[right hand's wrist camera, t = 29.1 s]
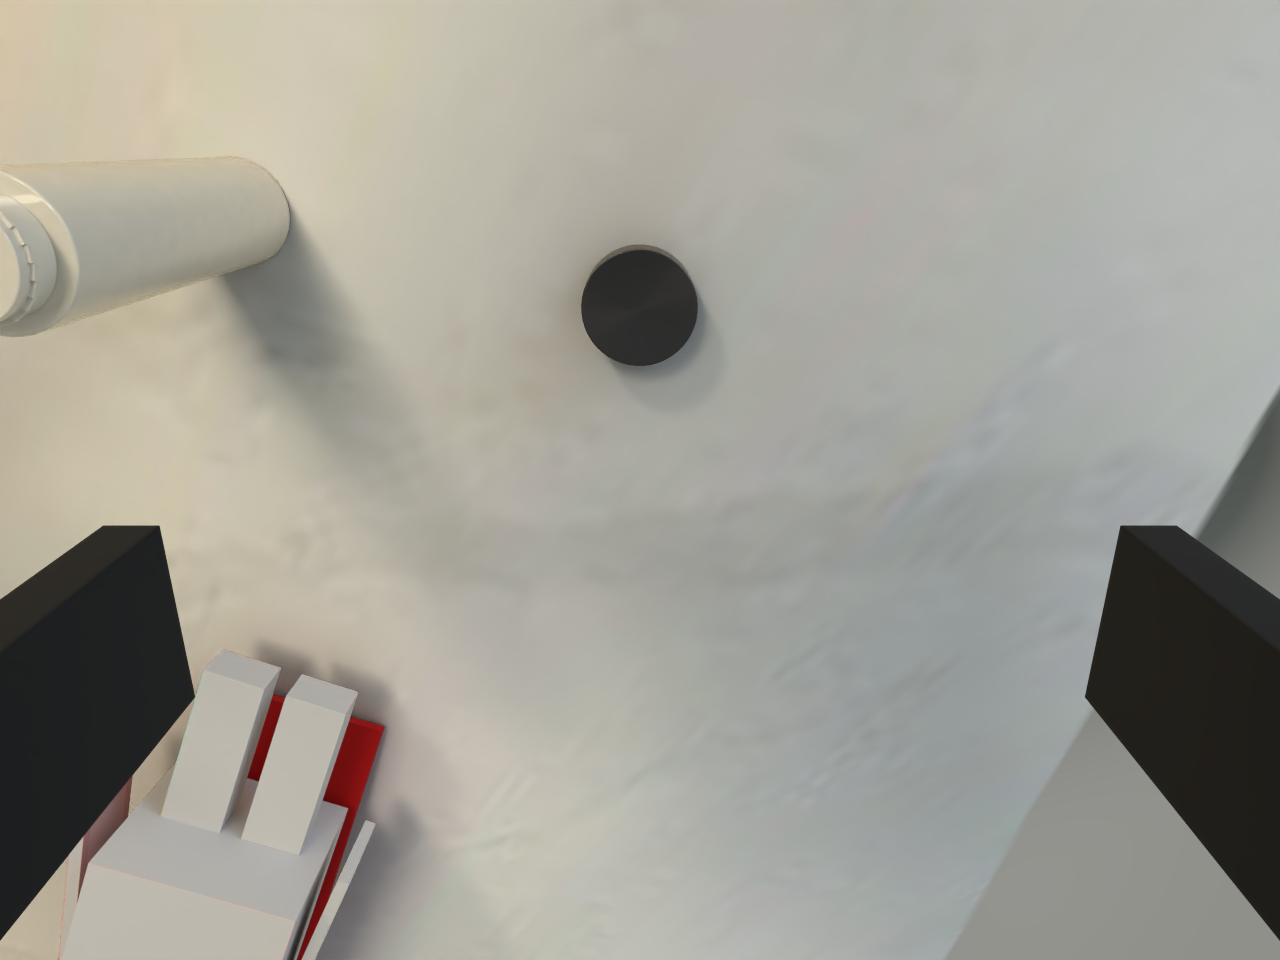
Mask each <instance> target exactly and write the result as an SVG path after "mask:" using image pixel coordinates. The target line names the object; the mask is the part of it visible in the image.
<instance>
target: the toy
mask: <svg viewBox="0 0 1280 960" xmlns="http://www.w3.org/2000/svg"><path fill="white" fill-rule="evenodd" d="M280 671H281V667H278V666H274V665H271V664H268V663H265V662H262V661H258V660H255V659H252V658H249V657H246V656H243V655H239V654H236V653H233V652H230V651H227V650H222V652H221V653H220V654H219V655H218V656H217V657H216V658H215V659H214V660H213V661H212V662H211V663H210V664H209V665H208V666H207V667H206V668H205V669H204V670H203V672H202V676H201V679H200V682H199V686H198V689H197V693H196V696H195V700H194V703H193V706H192V710H191V713H190V717H189V720H188V723H187V727H186V730H185V734H184V737H183V740H182V744H181V747H180V751H179V754H178V757H177V761H176V762H175V763H174V764H173V765H172V767H171V768H170V769H169V770H168V771H167V772H166V774H165V775H164V776H163V777H162V778H161V779H160V781H159V782H158V783H157V784H156V785H155V786H154V787H153V789H152V790H151V791H150V792H149V793H148V794H147V796H146V797H145V798H144V799H143V800H142V801H141V803H140V804H139V805H138V806H137V807H136V808H135V809H134V811H133V812H132V813H131V814H130V815H129V816H128V811H129V802H130V793H131V784H132V776H133V775H132V776H131V778H130V779H129V780H128V781H127V783H126V784H125V785H124V786H123V788H122V789H121V790H120V791H119V793H118V794H117V795H116V796H115V798H114V799H113V800H112V801H111V803H110V804H109V805H108V806H107V808H106V809H105V810H104V811H103V813H102V814H101V815H100V816H99V818H98V819H97V820H96V821H95V823H94V824H93V825H92V826H91V828H90V829H89V830H88V831H87V833H86V834H85V835H84V836H83V838H82V839H81V840H80V841H79V843H78V844H77V845H76V846H75V848H74V849H73V850H72V851H71V853H70V854H69V856H68V866H67V877H66V888H65V898H64V909H63V919H62V930H61V941H60V951H59V960H315V958H316V956H317V954H318V952H319V950H320V948H321V945H322V943H323V941H324V939H325V937H326V934H327V932H328V930H329V928H330V926H331V924H332V921H333V919H334V917H335V915H336V913H337V910H338V908H339V906H340V904H341V902H342V900H343V897H344V895H345V893H346V891H347V889H348V887H349V884H350V882H351V880H352V878H353V875H354V873H355V871H356V868H357V866H358V864H359V862H360V859H361V857H362V855H363V853H364V850H365V848H366V846H367V843H368V841H369V839H370V837H371V834H372V832H373V830H374V828H375V825H376V824H375V823H373V822H370V821H368V820H365V822H364V824H363V827H362V829H361V831H360V833H359V835H358V837H357V840H356V842H355V844H354V846H353V848H352V850H351V853H350V855H349V857H348V859H347V861H346V863H345V866H344V868H343V870H342V872H341V874H340V876H339V879H338V881H337V883H336V885H335V887H334V890H333V892H332V894H331V891H332V887H333V884H334V881H335V878H336V875H337V872H338V869H339V866H340V863H341V860H342V857H343V853H344V850H345V847H346V844H347V841H348V838H349V835H350V832H351V829H352V826H353V823H354V819H355V816H356V813H357V810H358V807H359V804H360V801H361V798H362V795H363V792H364V789H365V785H366V782H367V779H368V776H369V773H370V770H371V767H372V764H373V761H374V758H375V755H376V751H377V748H378V745H379V742H380V739H381V736H382V733H383V730H384V727H385V726H381V725H378V724H374V723H371V722H367V721H364V720H360V719H357V718H353V717H351V714H352V711H353V708H354V705H355V702H356V699H357V696H358V693H359V692H357V691H354V690H351V689H348V688H344V687H341V686H338V685H335V684H332V683H328V682H325V681H322V680H319V679H316V678H313V677H309V676H306V675H303V674H302V675H301V676H300V678H299V679H298V680H297V682H296V683H295V684H294V686H293V687H292V688H291V690H290V691H289V693H288V694H287V695H286V698H284V697H280V696H277V695H273V693H274V690H275V687H276V683H277V680H278V677H279V674H280ZM330 894H331V896H330ZM329 897H330V898H329ZM328 900H329V901H328Z"/></svg>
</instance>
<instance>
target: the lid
mask: <svg viewBox="0 0 1280 960" xmlns="http://www.w3.org/2000/svg"><path fill="white" fill-rule="evenodd" d="M581 311H582V319H583V323H584V326H585V329H586V331H587V334H588V336H589V337H590V339H591V340H592V342H593V343H594V344H595V346H596V347H597V348H598V349H599V350H600V351H601V352H602V353H604V354H605V355H607V356H608V357H610V358H611V359H613V360H615V361H618V362H620V363H623V364H627V365H634V366H645V365H652V364H655V363H659V362H661V361H664V360H666V359H667V358H669V357H671V356H672V355H674V354H675V353H676V352H678V351H679V350H680V349H681V348H682V347H683V345H684V344H685V343H686V342H687V340H688V339H689V337H690V335H691V333H692V331H693V329H694V326H695V323H696V318H697V297H696V293H695V289H694V286H693V284H692V281H691V278H690V276H689V274H688V273H687V271H686V269H685V268H684V267H683V265H682V264H681V263H680V262H679V261H678V260H677V259H676V258H675V257H673V256H672V255H671V254H669V253H668V252H666V251H664V250H662V249H659V248H657V247H653V246H648V245H631V246H626V247H622V248H619V249H617V250H615V251H613V252H611V253H610V254H608V255H607V256H605V257H604V258H603V259H602V260H601V261H600V262H599V263H598V264H597V265H596V266H595V268H594V269H593V271H592V272H591V274H590V276H589V278H588V281H587V283H586V286H585V289H584V292H583V296H582V304H581Z"/></svg>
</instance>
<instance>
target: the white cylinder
mask: <svg viewBox="0 0 1280 960" xmlns="http://www.w3.org/2000/svg"><path fill="white" fill-rule="evenodd" d="M289 224H290V213H289V207H288V204H287V200H286V198H285V195H284V193H283V191H282V189H281V187H280V186H279V184H278V183H277V182H276V180H275V179H274V178H273V177H272V176H271V175H270V174H269V173H268V172H267V171H266V170H265V169H263V168H262V167H260V166H259V165H257V164H255V163H253V162H251V161H249V160H246V159H243V158H239V157H231V156H229V157H202V158H175V159H149V160H122V161H96V162H69V163H43V164H16V165H0V336H6V337H25V336H31V335H35V334H38V333H42V332H45V331H48V330H51V329H54V328H57V327H60V326H63V325H67V324H70V323H73V322H76V321H79V320H82V319H85V318H88V317H92V316H95V315H98V314H101V313H104V312H107V311H110V310H113V309H117V308H120V307H123V306H126V305H129V304H132V303H135V302H138V301H142V300H145V299H148V298H151V297H154V296H157V295H160V294H163V293H167V292H170V291H173V290H176V289H179V288H182V287H185V286H188V285H192V284H195V283H198V282H201V281H204V280H207V279H210V278H213V277H217V276H220V275H223V274H226V273H229V272H232V271H235V270H238V269H242V268H245V267H248V266H251V265H254V264H257V263H260V262H263V261H265V260H267V259H269V258H270V257H272V256H273V255H274V254H276V253H277V252H278V251H279V249H280V248H281V247H282V245H283V243H284V242H285V240H286V237H287V235H288V230H289Z"/></svg>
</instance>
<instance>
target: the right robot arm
mask: <svg viewBox="0 0 1280 960" xmlns="http://www.w3.org/2000/svg"><path fill="white" fill-rule="evenodd" d="M194 698H195V694H194V690H193V685H192V680H191V675H190V670H189V666H188V661H187V656H186V651H185V646H184V642H183V637H182V632H181V627H180V622H179V617H178V613H177V608H176V603H175V598H174V593H173V589H172V584H171V579H170V574H169V569H168V565H167V560H166V555H165V550H164V545H163V540H162V536H161V531H160V526H102V527H101V528H99V529H98V530H97V531H95V532H94V533H92V534H91V535H90V536H88V537H87V538H85V539H84V540H83V541H81V542H80V543H78V544H77V545H76V546H74V547H73V548H71V549H70V550H69V551H67V552H66V553H64V554H63V555H62V556H60V557H59V558H58V559H56V560H55V561H53V562H52V563H51V564H49V565H48V566H46V567H45V568H44V569H42V570H41V571H39V572H38V573H37V574H35V575H34V576H32V577H31V578H30V579H28V580H27V581H25V582H24V583H23V584H21V585H20V586H18V587H17V588H16V589H14V590H13V591H11V592H10V593H9V594H7V595H6V596H5V597H3V598H2V599H0V940H1V939H2V938H3V936H4V935H5V934H6V933H7V931H8V930H9V929H10V928H11V926H12V925H13V924H14V923H15V921H16V920H17V919H18V918H19V916H20V915H21V914H22V913H23V911H24V910H25V909H26V908H27V906H28V905H29V904H30V903H31V901H32V900H33V899H34V898H35V896H36V895H37V894H38V893H39V891H40V890H41V889H42V888H43V886H44V885H45V884H46V883H47V881H48V880H49V879H50V878H51V876H52V875H53V874H54V873H55V871H56V870H57V869H58V868H59V866H60V865H61V864H62V863H63V861H64V860H65V859H66V858H67V856H68V855H69V854H70V853H71V851H72V850H73V849H74V848H75V846H76V845H77V844H78V843H79V841H80V840H81V839H82V838H83V836H84V835H85V834H86V833H87V831H88V830H89V829H90V828H91V826H92V825H93V824H94V823H95V821H96V820H97V819H98V818H99V816H100V815H101V814H102V813H103V811H104V810H105V809H106V808H107V806H108V805H109V804H110V803H111V801H112V800H113V799H114V798H115V796H116V795H117V794H118V793H119V791H120V790H121V789H122V788H123V786H124V785H125V784H126V783H127V781H128V780H129V779H130V778H131V776H132V775H133V774H134V773H135V771H136V770H137V769H138V768H139V766H140V765H141V764H142V763H143V761H144V760H145V759H146V758H147V756H148V755H149V754H150V753H151V751H152V750H153V749H154V748H155V746H156V745H157V744H158V743H159V741H160V740H161V739H162V738H163V736H164V735H165V734H166V733H167V731H168V730H169V729H170V728H171V726H172V725H173V724H174V723H175V721H176V720H177V719H178V718H179V716H180V715H181V714H182V713H183V711H184V710H185V709H186V708H187V706H188V705H189V704H190V703H191V701H192V700H193V699H194ZM1085 698H1086V699H1087V700H1088V701H1089V703H1090V704H1091V705H1092V706H1093V708H1094V709H1095V710H1096V711H1097V713H1098V714H1099V715H1100V716H1101V718H1102V719H1103V720H1104V721H1105V723H1106V724H1107V725H1108V726H1109V728H1110V729H1111V730H1112V731H1113V733H1114V734H1115V735H1116V736H1117V738H1118V739H1119V740H1120V741H1121V743H1122V744H1123V745H1124V746H1125V748H1126V749H1127V750H1128V751H1129V753H1130V754H1131V755H1132V756H1133V758H1134V759H1135V760H1136V761H1137V763H1138V764H1139V765H1140V766H1141V768H1142V769H1143V770H1144V771H1145V773H1146V774H1147V775H1148V776H1149V778H1150V779H1151V780H1152V781H1153V783H1154V784H1155V785H1156V786H1157V788H1158V789H1159V790H1160V791H1161V793H1162V794H1163V795H1164V796H1165V798H1166V799H1167V800H1168V801H1169V803H1170V804H1171V805H1172V806H1173V808H1174V809H1175V810H1176V811H1177V813H1178V814H1179V815H1180V816H1181V818H1182V819H1183V820H1184V821H1185V823H1186V824H1187V825H1188V826H1189V828H1190V829H1191V830H1192V831H1193V833H1194V834H1195V835H1196V836H1197V838H1198V839H1199V840H1200V841H1201V843H1202V844H1203V845H1204V846H1205V848H1206V849H1207V850H1208V851H1209V853H1210V854H1211V855H1212V856H1213V858H1214V859H1215V860H1216V861H1217V863H1218V864H1219V865H1220V866H1221V868H1222V869H1223V870H1224V871H1225V873H1226V874H1227V875H1228V876H1229V878H1230V879H1231V880H1232V881H1233V883H1234V884H1235V885H1236V886H1237V888H1238V889H1239V890H1240V891H1241V893H1242V894H1243V895H1244V896H1245V898H1246V899H1247V900H1248V901H1249V903H1250V904H1251V905H1252V906H1253V908H1254V909H1255V910H1256V911H1257V913H1258V914H1259V915H1260V916H1261V918H1262V919H1263V920H1264V921H1265V923H1266V924H1267V925H1268V926H1269V928H1270V929H1271V930H1272V931H1273V933H1274V934H1275V935H1276V936H1277V938H1278V939H1279V940H1280V599H1278V598H1277V597H1275V596H1274V595H1273V594H1271V593H1270V592H1269V591H1267V590H1266V589H1264V588H1263V587H1262V586H1260V585H1259V584H1257V583H1256V582H1255V581H1253V580H1252V579H1250V578H1249V577H1248V576H1246V575H1245V574H1243V573H1242V572H1241V571H1239V570H1238V569H1236V568H1235V567H1234V566H1232V565H1231V564H1229V563H1228V562H1227V561H1225V560H1224V559H1222V558H1221V557H1220V556H1218V555H1217V554H1215V553H1214V552H1213V551H1211V550H1210V549H1208V548H1207V547H1206V546H1204V545H1203V544H1202V543H1200V542H1199V541H1197V540H1196V539H1195V538H1193V537H1192V536H1190V535H1189V534H1188V533H1186V532H1185V531H1183V530H1182V529H1181V528H1179V527H1178V526H1120V531H1119V536H1118V540H1117V545H1116V550H1115V555H1114V560H1113V564H1112V569H1111V574H1110V579H1109V584H1108V589H1107V593H1106V598H1105V603H1104V608H1103V613H1102V617H1101V622H1100V627H1099V632H1098V637H1097V642H1096V646H1095V651H1094V656H1093V661H1092V666H1091V670H1090V675H1089V680H1088V685H1087V690H1086V694H1085Z"/></svg>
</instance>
